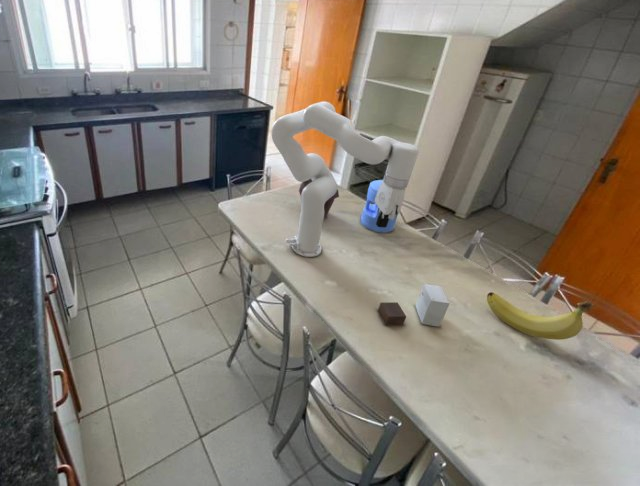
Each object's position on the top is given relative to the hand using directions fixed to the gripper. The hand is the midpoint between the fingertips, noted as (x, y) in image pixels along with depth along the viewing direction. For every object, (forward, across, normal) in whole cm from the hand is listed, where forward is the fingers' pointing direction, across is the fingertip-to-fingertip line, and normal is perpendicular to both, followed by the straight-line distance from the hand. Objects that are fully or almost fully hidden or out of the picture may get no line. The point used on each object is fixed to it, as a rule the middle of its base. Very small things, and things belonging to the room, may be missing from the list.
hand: (380, 225), depth 117 cm
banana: (+22, +23, +44) cm, 54 cm away
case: (+25, -46, -9) cm, 53 cm away
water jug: (+24, -38, +20) cm, 49 cm away
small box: (+23, +19, +14) cm, 33 cm away
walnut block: (+23, +20, +1) cm, 31 cm away
